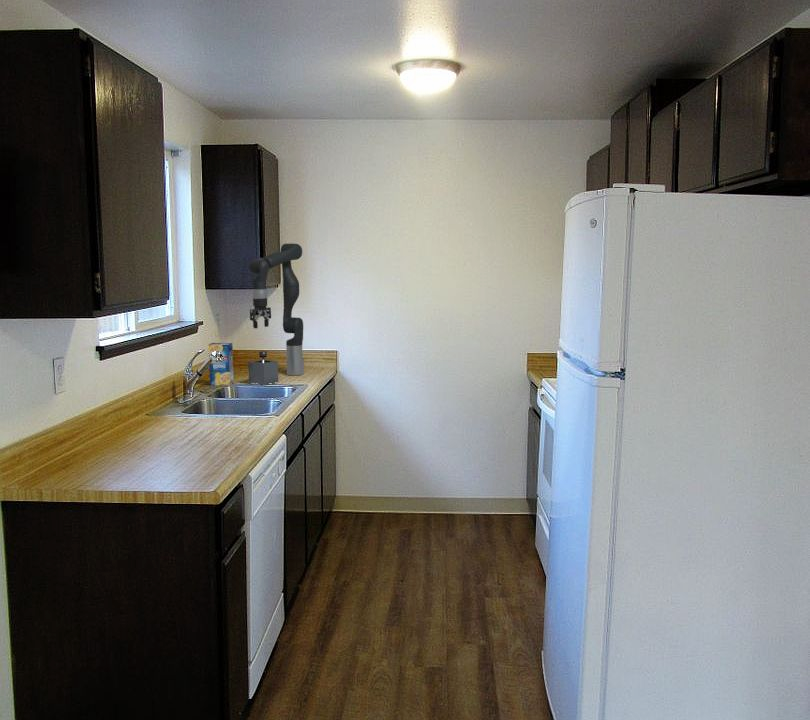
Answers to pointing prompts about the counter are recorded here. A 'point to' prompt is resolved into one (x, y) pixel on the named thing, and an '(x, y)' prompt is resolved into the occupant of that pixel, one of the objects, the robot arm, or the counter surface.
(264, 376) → the gray open box
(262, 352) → the plunger
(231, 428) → the counter surface
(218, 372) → the beverage box
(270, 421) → the counter surface
